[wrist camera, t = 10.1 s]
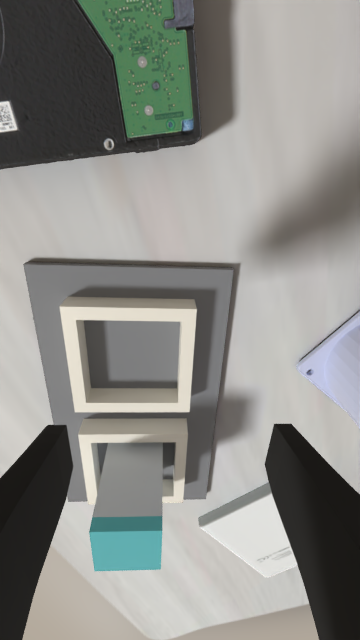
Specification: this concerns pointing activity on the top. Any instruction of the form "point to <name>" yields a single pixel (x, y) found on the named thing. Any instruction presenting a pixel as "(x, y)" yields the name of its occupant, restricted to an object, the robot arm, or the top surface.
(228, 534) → the external hard drive
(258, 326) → the top surface
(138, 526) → the plug
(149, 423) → the frame
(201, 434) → the mat
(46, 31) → the disk drive
